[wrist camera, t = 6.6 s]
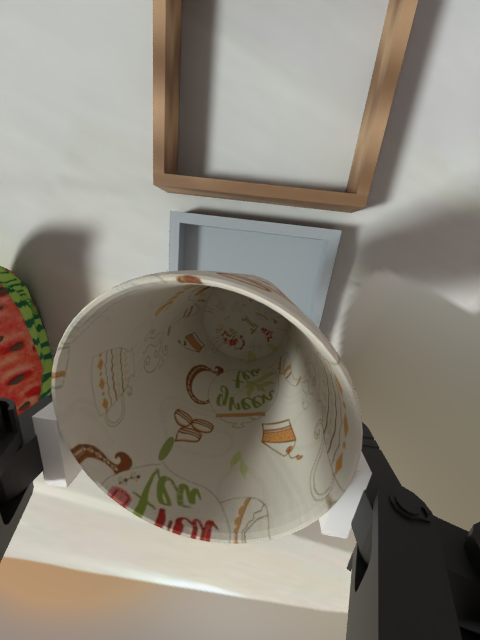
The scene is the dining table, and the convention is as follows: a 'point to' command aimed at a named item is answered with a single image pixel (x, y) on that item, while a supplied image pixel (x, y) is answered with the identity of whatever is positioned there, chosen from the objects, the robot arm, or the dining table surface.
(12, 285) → the fruit slice
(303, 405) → the mug
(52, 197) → the dining table surface
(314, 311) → the tray
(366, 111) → the corral
